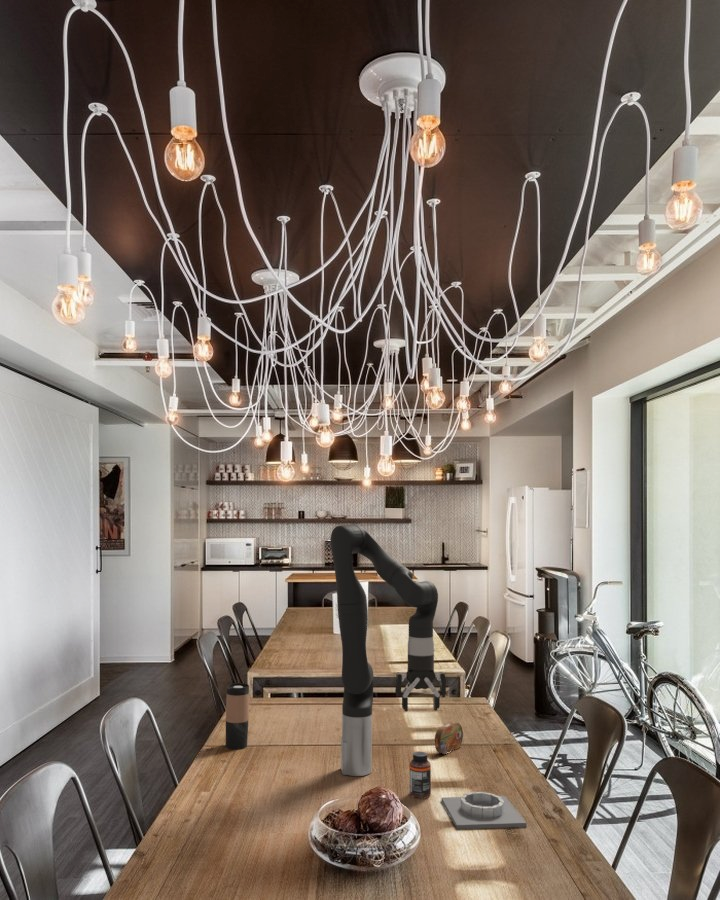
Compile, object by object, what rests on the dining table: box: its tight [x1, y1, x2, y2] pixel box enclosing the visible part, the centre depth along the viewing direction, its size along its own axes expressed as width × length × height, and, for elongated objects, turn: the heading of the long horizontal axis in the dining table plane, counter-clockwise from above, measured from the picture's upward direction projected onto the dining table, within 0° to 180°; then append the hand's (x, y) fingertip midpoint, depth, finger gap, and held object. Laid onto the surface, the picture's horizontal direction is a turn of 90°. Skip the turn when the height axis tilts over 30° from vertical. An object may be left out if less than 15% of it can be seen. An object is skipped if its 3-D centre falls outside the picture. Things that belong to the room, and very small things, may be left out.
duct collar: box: [460, 791, 504, 818], centre depth 193 cm, size 11×11×2 cm
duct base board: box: [440, 795, 528, 830], centre depth 193 cm, size 18×18×1 cm
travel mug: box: [225, 682, 250, 750], centre depth 247 cm, size 8×8×20 cm
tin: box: [434, 722, 464, 755], centre depth 245 cm, size 15×3×8 cm, turn 143°
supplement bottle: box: [409, 751, 432, 799], centre depth 206 cm, size 6×6×11 cm
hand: (420, 710), depth 207 cm, fingers open, 8 cm apart
